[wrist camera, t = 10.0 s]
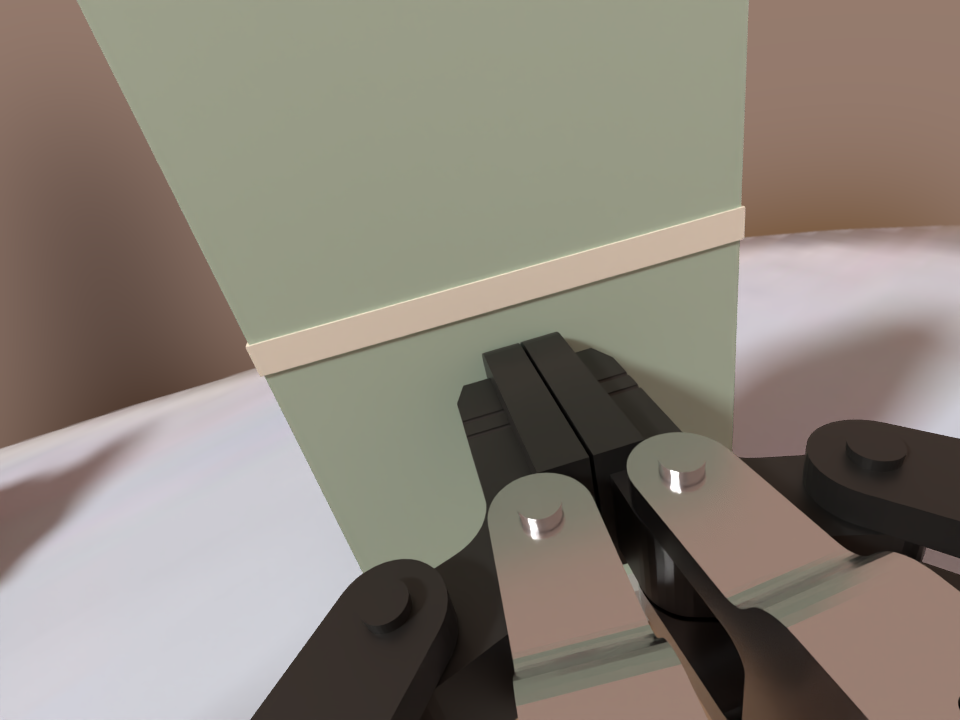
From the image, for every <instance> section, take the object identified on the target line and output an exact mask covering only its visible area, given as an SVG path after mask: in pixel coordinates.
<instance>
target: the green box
mask: <svg viewBox="0 0 960 720" xmlns="http://www.w3.org/2000/svg"><path fill="white" fill-rule="evenodd" d="M77 2H78V4H79V6H80V8H81V10H82V12H83V14H84V16H85V18H86V20H87V22H88V23H89V26H90V28H91V30H92V32H93V34H94V36H95V38H96V40H97V42H98V44H99V46H100V48H101V50H102V52H103V54H104V56H105V58H106V60H107V62H108V64H109V66H110V68H111V70H112V71H113V74H114V76H115V78H116V80H117V82H118V84H119V86H120V88H121V90H122V92H123V94H124V96H125V98H126V100H127V102H128V104H129V106H130V108H131V110H132V112H133V114H134V116H135V118H136V120H137V122H138V124H139V126H140V128H141V130H142V132H143V134H144V136H145V138H146V140H147V142H148V144H149V146H150V148H151V150H152V152H153V154H154V156H155V158H156V160H157V162H158V164H159V166H160V168H161V170H162V172H163V174H164V176H165V178H166V180H167V182H168V184H169V186H170V188H171V190H172V191H173V194H174V196H175V198H176V200H177V202H178V204H179V206H180V208H181V210H182V212H183V214H184V216H185V218H186V220H187V222H188V224H189V226H190V228H191V230H192V232H193V233H194V236H195V238H196V240H197V242H198V244H199V246H200V248H201V250H202V252H203V254H204V256H205V258H206V260H207V262H208V264H209V266H210V268H211V270H212V272H213V274H214V276H215V278H216V280H217V282H218V284H219V286H220V288H221V290H222V292H223V294H224V296H225V298H226V300H227V302H228V304H229V306H230V308H231V310H232V312H233V314H234V316H235V318H236V320H237V322H238V324H239V326H240V328H241V330H242V332H243V334H244V336H245V338H246V340H247V342H248V343H247V345H246V349H247V351H248V353H249V355H250V357H251V359H252V361H253V363H254V365H255V367H256V369H257V371H258V373H259V375H260V377H262V376H265V378H266V380H267V382H268V384H269V386H270V388H271V390H272V392H273V394H274V396H275V398H276V400H277V402H278V404H279V406H280V408H281V410H282V412H283V414H284V416H285V418H286V420H287V422H288V424H289V426H290V428H291V430H292V432H293V434H294V436H295V438H296V440H297V442H298V444H299V446H300V448H301V450H302V452H303V454H304V456H305V458H306V460H307V462H308V464H309V466H310V468H311V470H312V472H313V474H314V476H315V478H316V480H317V482H318V484H319V486H320V488H321V490H322V492H323V494H324V496H325V498H326V500H327V502H328V504H329V506H330V508H331V510H332V512H333V514H334V516H335V518H336V520H337V522H338V524H339V526H340V528H341V530H342V532H343V534H344V536H345V538H346V540H347V542H348V544H349V546H350V548H351V550H352V552H353V554H354V556H355V558H356V560H357V562H358V564H359V566H360V568H361V570H362V572H363V573H364V572H366V571H368V570H369V569H371V568H373V567H375V566H377V565H379V564H382V563H384V562H388V561H392V560H398V559H413V560H418V561H422V562H424V563H426V564H428V565H430V566H431V567H433V568H436V567H437V566H439V565H440V564H442V563H443V562H445V561H446V560H448V559H450V558H451V557H453V556H454V555H456V554H457V553H458V552H460V551H461V550H462V549H464V548H465V547H466V546H467V545H468V544H469V543H470V542H471V541H472V540H473V538H474V537H475V536H476V535H477V533H478V532H479V530H480V528H481V527H482V524H483V522H484V519H485V515H486V501H485V498H484V495H483V491H482V488H481V485H480V481H479V478H478V475H477V471H476V468H475V464H474V461H473V458H472V454H471V451H470V447H469V444H468V440H467V437H466V433H465V430H464V426H463V423H462V420H461V416H460V413H459V409H458V406H457V402H458V399H459V396H460V394H461V391H462V388H463V386H464V385H467V384H471V383H474V382H478V381H481V380H484V379H487V376H486V371H485V367H484V363H483V358H482V353H485V352H488V351H492V350H495V349H499V348H502V347H506V346H509V345H512V344H516V343H519V344H520V342H522V341H526V340H529V339H533V338H536V337H539V336H543V335H546V334H550V333H553V332H559V333H560V334H561V336H562V337H563V338H564V339H565V341H566V342H567V343H568V344H569V346H570V347H571V348H572V349H573V351H574V352H579V351H582V350H585V349H589V348H593V349H595V350H597V351H600V352H602V353H604V354H607V355H609V356H611V357H613V358H614V359H615V360H616V361H617V362H618V363H619V364H620V365H621V366H622V368H623V369H624V370H625V371H626V372H627V375H630V376H631V377H632V378H633V379H634V380H635V382H636V383H637V384H638V387H639V388H640V387H641V388H642V389H643V390H644V391H645V392H646V393H647V394H648V396H649V397H650V398H651V399H652V400H653V401H654V402H655V403H656V404H657V405H658V406H659V407H660V409H661V410H662V411H663V412H664V413H665V414H666V415H667V416H668V417H669V418H670V419H671V420H672V421H673V423H674V424H675V425H676V426H677V427H678V428H679V429H680V430H681V431H682V432H684V433H693V434H698V435H702V436H706V437H708V438H711V439H713V440H715V441H717V442H719V443H721V444H722V445H724V446H725V447H726V448H728V449H729V450H730V451H731V452H732V438H733V411H734V384H735V356H736V329H737V302H738V275H739V248H740V240H741V239H744V227H745V226H744V225H745V207H744V206H741V193H742V167H743V139H744V112H745V110H744V109H745V84H746V56H747V30H748V4H749V0H77ZM623 567H624V569H625V571H626V573H627V576H628V578H629V580H630V583H631V585H632V587H633V589H634V592H635V594H636V596H637V598H638V601H639V603H640V598H639V589H638V581H637V579H636V577H635V576H634V574H633V572H632V570H631V568H630V567H629V565H628V563H627V564H624V565H623ZM640 605H641V603H640ZM641 607H642V606H641ZM642 610H643V609H642ZM643 612H644V611H643ZM644 614H645V613H644ZM645 616H646V615H645ZM646 619H647V621H649V619H648V618H647V616H646Z"/></svg>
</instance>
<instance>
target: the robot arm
mask: <svg viewBox="0 0 960 720" xmlns="http://www.w3.org/2000/svg"><path fill="white" fill-rule="evenodd" d="M482 358H483V363H484V367H485V371H486V376H487V379H484V380H481V381H478V382H474V383H471V384H467V385H464V386H463V388H462V391H461V394H460V396H459V399H458V402H457V406H458V409H459V413H460V416H461V420H462V423H463V426H464V430H465V433H466V437H467V440H468V444H469V447H470V451H471V454H472V458H473V461H474V464H475V468H476V471H477V475H478V478H479V481H480V485H481V488H482V491H483V495H484V498H485V501H486V515H485V519H484V522H483V524H482V527H481V528H480V530H479V532H478V533H477V535H476V536H475V537H474V538H473V540H472V541H471V542H470V543H469V544H468V545H467V546H466V547H465V548H464V549H462V550H461V551H460V552H458V553H457V554H456V555H454V556H453V557H451V558H450V559H448V560H446V561H445V562H443V563H442V564H440V565H439V566H437V567H436V568H433V567H431V566H430V565H428V564H426V563H424V562H422V561H418V560H413V559H398V560H392V561H388V562H384V563H382V564H379V565H377V566H375V567H373V568H371V569H369V570H368V571H366V572H364V573H363V574H362V575H360V576H359V577H358V578H357V579H355V580H354V581H353V582H352V583H351V584H350V585H349V586H348V588H347V589H346V590H345V591H344V592H343V594H342V595H341V596H340V598H339V599H338V600H337V602H336V603H335V604H334V606H333V607H332V609H331V610H330V611H329V613H328V614H327V615H326V617H325V618H324V620H323V621H322V622H321V624H320V625H319V626H318V628H317V629H316V631H315V632H314V633H313V635H312V636H311V637H310V639H309V640H308V641H307V643H306V644H305V646H304V647H303V648H302V650H301V651H300V652H299V654H298V655H297V657H296V658H295V659H294V661H293V662H292V663H291V665H290V666H289V667H288V669H287V670H286V672H285V673H284V674H283V676H282V677H281V678H280V680H279V681H278V683H277V684H276V685H275V687H274V688H273V689H272V691H271V692H270V694H269V695H268V696H267V698H266V699H265V700H264V702H263V703H262V704H261V706H260V707H259V709H258V710H257V711H256V713H255V714H254V715H253V717H252V718H251V720H516V719H517V718H518V720H708V719H707V717H706V714H705V712H704V710H703V708H702V706H701V704H700V702H699V700H700V701H701V703H702V704H703V706H704V708H705V709H706V711H707V712H708V714H709V716H710V717H711V719H712V720H960V575H959V574H956V573H953V572H950V571H947V570H944V569H941V568H938V567H935V566H932V565H929V564H926V563H923V562H922V560H923V556H924V553H925V550H926V547H927V548H930V549H933V550H936V551H939V552H942V553H945V554H948V555H952V556H955V557H958V558H960V439H958V438H953V437H949V436H944V435H939V434H935V433H930V432H925V431H920V430H916V429H911V428H906V427H902V426H897V425H892V424H888V423H883V422H877V421H869V420H843V421H837V422H832V423H829V424H826V425H824V426H822V427H820V428H818V429H816V430H815V431H814V432H813V433H812V434H811V435H810V437H809V438H808V441H807V445H806V453H805V455H799V456H782V457H765V458H740V457H737V456H736V455H735V454H734V453H733V452H731V451H730V450H729V449H728V448H726V447H725V446H724V445H722V444H721V443H719V442H717V441H715V440H713V439H711V438H708V437H706V436H702V435H698V434H693V433H684V432H682V431H681V430H680V429H679V428H678V427H677V426H676V425H675V424H674V423H673V421H672V420H671V419H670V418H669V417H668V416H667V415H666V414H665V413H664V412H663V411H662V410H661V409H660V407H659V406H658V405H657V404H656V403H655V402H654V401H653V400H652V399H651V398H650V397H649V396H648V394H647V393H646V392H645V391H644V390H643V389H642V388H641V387H640V388H639V387H638V384H637V383H636V382H635V380H634V379H633V378H632V377H631V376H630V375H627V372H626V371H625V370H624V369H623V368H622V366H621V365H620V364H619V363H618V362H617V361H616V360H615V359H614V358H613V357H611V356H609V355H607V354H604V353H602V352H600V351H597V350H595V349H593V348H589V349H585V350H582V351H579V352H574V351H573V349H572V348H571V347H570V346H569V344H568V343H567V342H566V341H565V339H564V338H563V337H562V336H561V334H560V333H559V332H553V333H550V334H546V335H543V336H539V337H536V338H533V339H529V340H526V341H522V342H520V344H519V343H516V344H512V345H509V346H506V347H502V348H499V349H495V350H492V351H488V352H485V353H482ZM627 563H628V565H629V567H630V568H631V570H632V572H633V574H634V576H635V577H636V579H637V581H638V589H639V598H640V603H641V605H640V603H639V601H638V598H637V596H636V594H635V592H634V589H633V587H632V585H631V583H630V580H629V578H628V576H627V573H626V571H625V569H624V567H623V565H624V564H627ZM641 606H642V607H641ZM642 609H643V610H642ZM643 611H644V612H643ZM644 613H645V614H644ZM645 615H646V616H647V618H648V619H649V621H650V622H651V624H652V626H653V627H654V629H655V630H656V632H657V634H658V635H659V637H660V638H657V637H656V635H655V634H654V632H653V631H652V629H651V627H650V625H649V623H648V621H647V619H646V616H645ZM698 698H699V700H698Z"/></svg>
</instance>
